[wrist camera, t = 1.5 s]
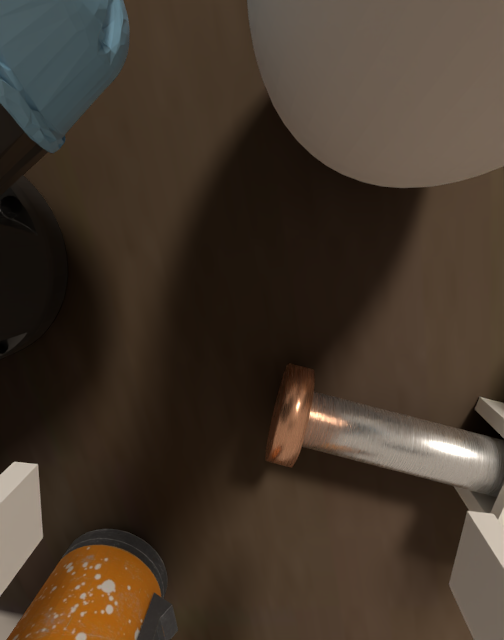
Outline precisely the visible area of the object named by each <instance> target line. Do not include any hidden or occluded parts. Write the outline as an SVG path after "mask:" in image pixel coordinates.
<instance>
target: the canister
mask: <svg viewBox="0 0 504 640" xmlns="http://www.w3.org/2000/svg"><path fill="white" fill-rule="evenodd" d="M166 589H167V572H166V568H165V565H164V563H163V561H162V559H161V557H160V556H159V555H158V553H157V552H156V551H155V550H154V549H153V548H152V547H151V546H150V545H149V544H148V543H147V542H145V541H144V540H143V539H141V538H139V537H137V536H136V535H133V534H131V533H129V532H125V531H122V530H116V529H99V530H94V531H90V532H87V533H85V534H83V535H81V536H80V537H79V538H77V539H76V540H75V541H74V542H73V543H72V544H71V545H70V547H69V548H68V550H67V551H66V553H65V554H64V556H63V557H62V559H61V560H60V562H59V563H58V564H57V566H56V567H55V569H54V570H53V572H52V573H51V575H50V576H49V578H48V579H47V581H46V582H45V584H44V585H43V587H42V588H41V590H40V591H39V593H38V594H37V596H36V597H35V599H34V600H33V601H32V603H31V604H30V606H29V607H28V609H27V610H26V612H25V613H24V615H23V616H22V618H21V619H20V621H19V622H18V624H17V625H16V627H15V628H14V630H13V631H12V633H11V634H10V636H9V637H8V638H7V640H170V639H171V638H172V637H173V636H174V634H175V633H176V632H177V631H178V628H177V623H176V619H175V615H174V610H173V606H172V604H170V603H169V602H168V601H166V600H165V599H164V596H165V593H166Z"/></svg>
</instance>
